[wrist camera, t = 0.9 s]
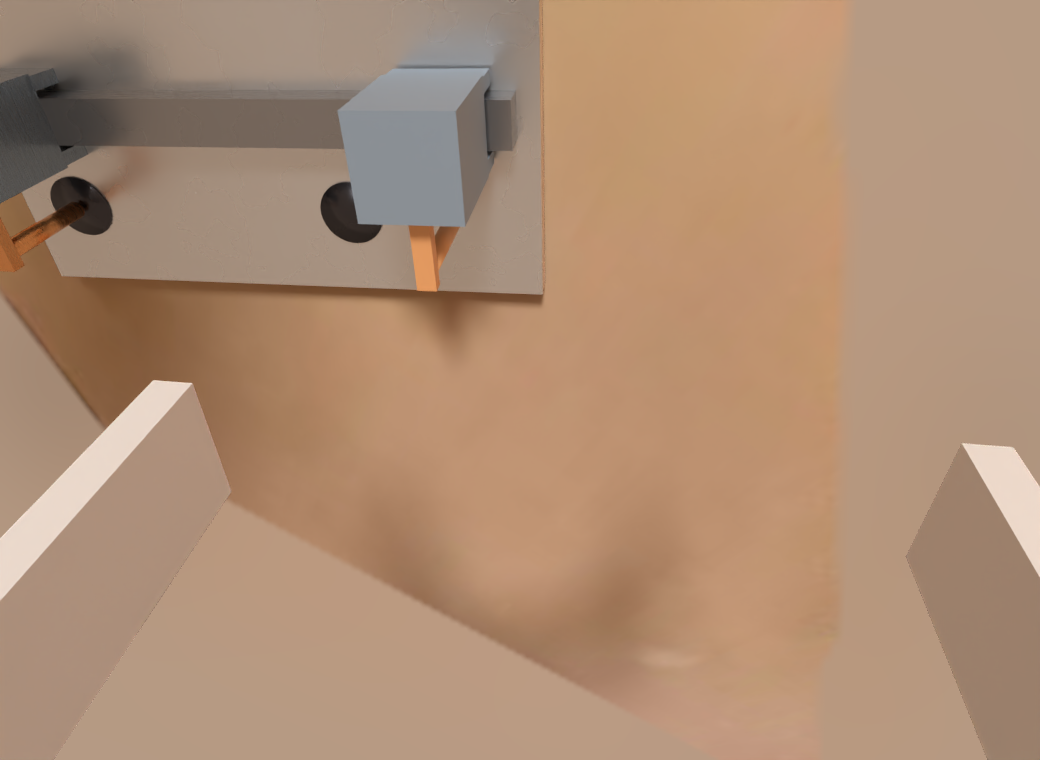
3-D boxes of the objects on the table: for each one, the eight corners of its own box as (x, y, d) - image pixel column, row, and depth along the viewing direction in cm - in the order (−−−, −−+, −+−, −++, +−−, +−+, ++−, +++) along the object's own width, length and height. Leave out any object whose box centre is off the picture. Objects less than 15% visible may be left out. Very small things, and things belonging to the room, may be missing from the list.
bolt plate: (-60, -29, 29) (-242, -2, 23) (541, -42, 26) (514, -16, 20) (76, 265, 38) (-32, 342, 32) (545, 282, 34) (526, 371, 28)
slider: (392, 66, 28) (337, 110, 23) (489, 65, 27) (455, 111, 22) (414, 231, 32) (372, 300, 27) (498, 233, 32) (471, 304, 26)
